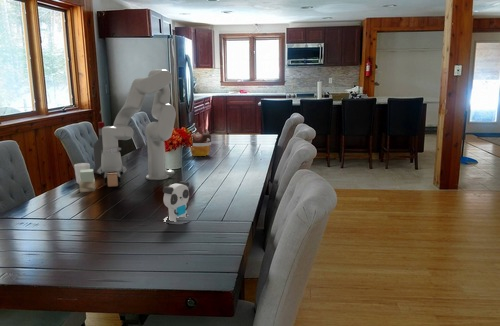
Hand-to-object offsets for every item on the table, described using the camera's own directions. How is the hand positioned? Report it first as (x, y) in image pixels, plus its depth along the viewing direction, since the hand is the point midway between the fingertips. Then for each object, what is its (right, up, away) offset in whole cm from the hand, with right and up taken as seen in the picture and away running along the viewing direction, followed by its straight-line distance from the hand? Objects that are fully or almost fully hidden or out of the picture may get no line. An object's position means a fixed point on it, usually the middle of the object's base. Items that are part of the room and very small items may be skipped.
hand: (112, 183), depth 222 cm
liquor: (-14, +5, +29) cm, 32 cm away
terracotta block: (0, -1, 0) cm, 1 cm away
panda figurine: (+43, -12, -53) cm, 70 cm away
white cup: (-17, 0, +5) cm, 18 cm away
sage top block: (-9, +2, -10) cm, 14 cm away
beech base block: (-10, -3, -9) cm, 14 cm away
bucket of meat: (+36, +16, +84) cm, 93 cm away
